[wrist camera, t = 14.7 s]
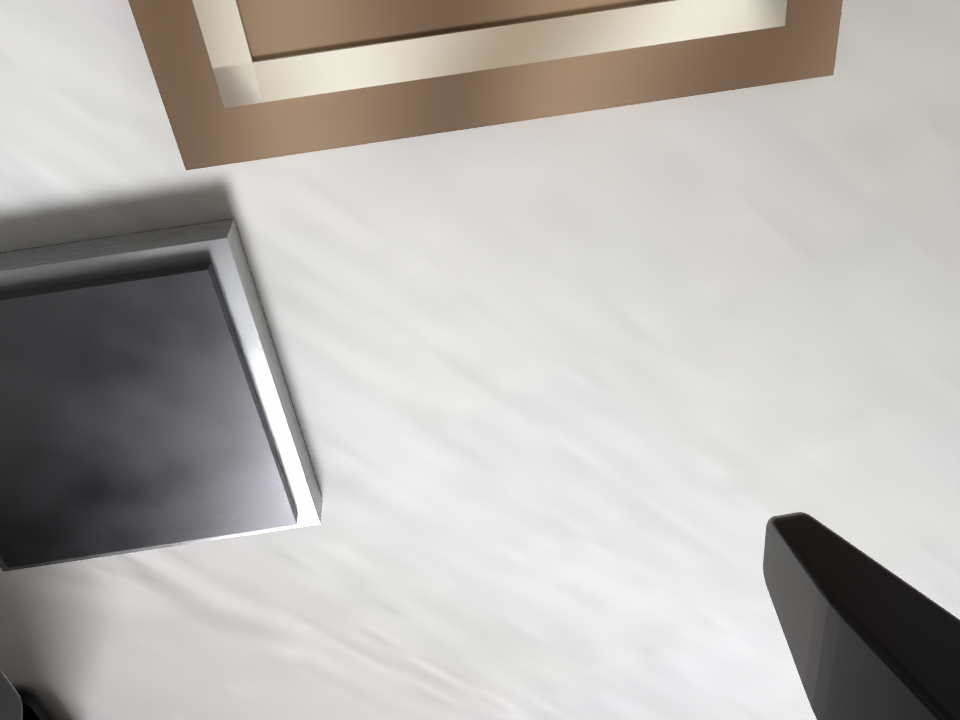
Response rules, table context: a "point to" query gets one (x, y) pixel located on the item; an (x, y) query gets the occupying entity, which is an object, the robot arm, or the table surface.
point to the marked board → (451, 63)
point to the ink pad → (142, 400)
